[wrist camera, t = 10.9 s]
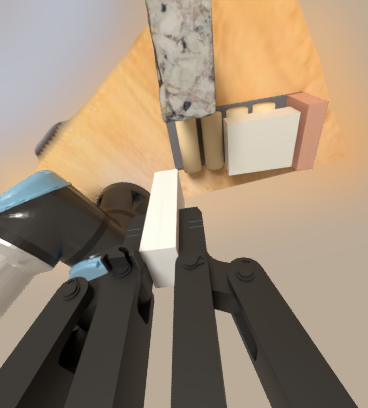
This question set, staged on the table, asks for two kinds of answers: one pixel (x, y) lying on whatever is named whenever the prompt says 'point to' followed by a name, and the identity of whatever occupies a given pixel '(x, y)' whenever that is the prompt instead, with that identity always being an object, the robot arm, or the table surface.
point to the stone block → (183, 57)
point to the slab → (260, 140)
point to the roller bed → (223, 113)
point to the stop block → (307, 128)
